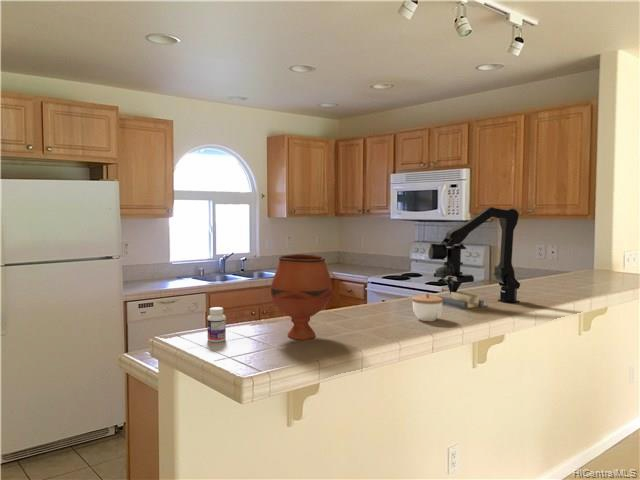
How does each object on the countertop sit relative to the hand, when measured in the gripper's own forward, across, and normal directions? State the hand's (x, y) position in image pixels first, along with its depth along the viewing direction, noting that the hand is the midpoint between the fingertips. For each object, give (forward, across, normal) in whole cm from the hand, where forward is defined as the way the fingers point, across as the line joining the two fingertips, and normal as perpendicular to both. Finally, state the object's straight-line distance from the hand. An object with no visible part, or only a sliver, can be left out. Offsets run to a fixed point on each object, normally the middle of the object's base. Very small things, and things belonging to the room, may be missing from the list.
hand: (452, 296), depth 217 cm
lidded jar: (+3, +21, -31) cm, 37 cm away
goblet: (+3, +22, -82) cm, 85 cm away
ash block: (+3, +6, +1) cm, 7 cm away
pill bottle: (+3, +15, -107) cm, 108 cm away
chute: (+2, +4, 0) cm, 5 cm away
